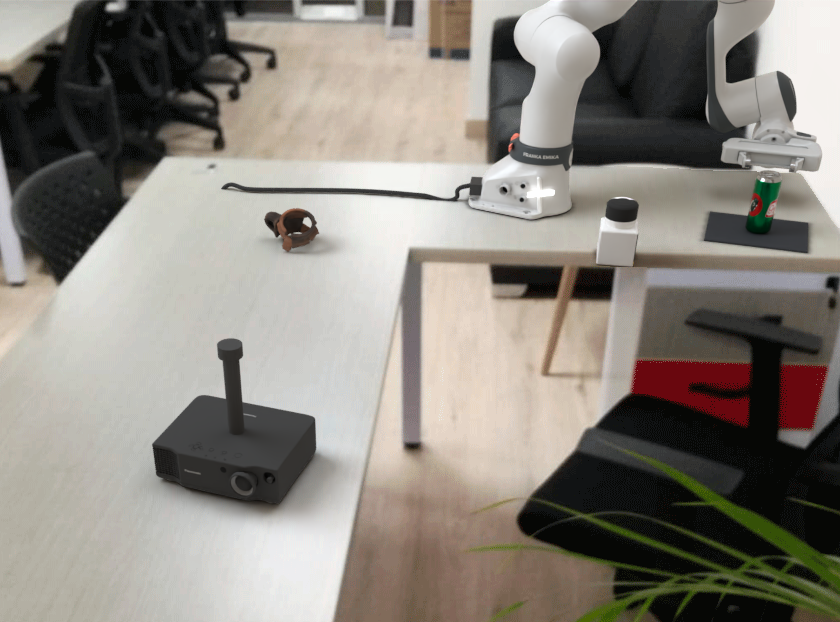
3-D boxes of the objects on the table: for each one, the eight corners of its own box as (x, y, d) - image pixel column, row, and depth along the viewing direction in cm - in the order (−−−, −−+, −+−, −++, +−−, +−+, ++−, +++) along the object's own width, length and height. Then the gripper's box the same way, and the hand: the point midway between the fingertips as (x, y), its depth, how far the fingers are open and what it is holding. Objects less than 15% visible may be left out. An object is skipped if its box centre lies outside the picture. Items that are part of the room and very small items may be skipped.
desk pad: (703, 240, 221) (704, 239, 221) (710, 212, 233) (710, 211, 233) (807, 253, 215) (807, 251, 215) (808, 223, 227) (808, 222, 227)
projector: (149, 488, 152) (131, 363, 140) (202, 428, 165) (190, 309, 153) (273, 516, 147) (265, 389, 135) (318, 452, 159) (315, 330, 147)
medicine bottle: (633, 267, 210) (642, 208, 203) (596, 264, 212) (604, 205, 204) (632, 253, 216) (641, 194, 209) (596, 250, 217) (604, 192, 210)
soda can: (766, 237, 221) (780, 179, 214) (741, 232, 223) (754, 175, 216) (772, 228, 224) (786, 172, 217) (748, 224, 227) (760, 167, 220)
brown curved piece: (324, 237, 225) (326, 212, 218) (306, 271, 221) (308, 247, 214) (271, 217, 226) (272, 191, 219) (253, 251, 222) (253, 226, 215)
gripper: (725, 127, 238) (721, 146, 227) (824, 136, 232) (824, 156, 222) (720, 155, 242) (715, 175, 231) (816, 165, 236) (816, 186, 225)
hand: (769, 166), depth 226 cm, fingers open, 8 cm apart
